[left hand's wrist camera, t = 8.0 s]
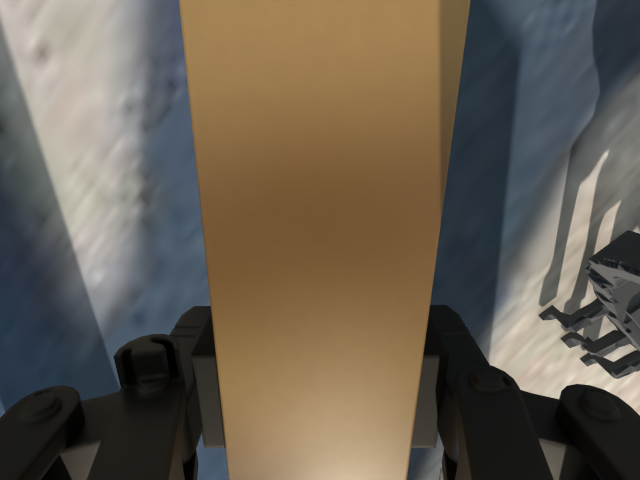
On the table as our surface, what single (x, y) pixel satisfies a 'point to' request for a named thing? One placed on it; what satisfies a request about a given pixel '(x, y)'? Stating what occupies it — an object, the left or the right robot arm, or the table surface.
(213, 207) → the post
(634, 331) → the toy
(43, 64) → the table surface
